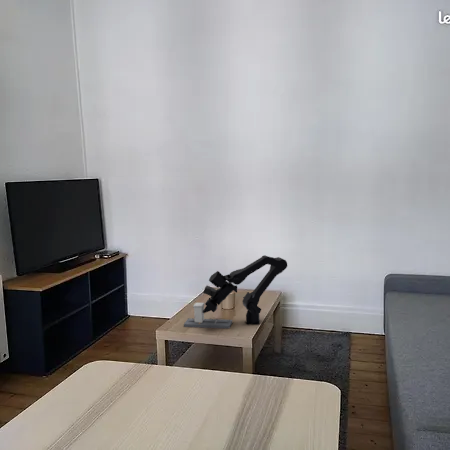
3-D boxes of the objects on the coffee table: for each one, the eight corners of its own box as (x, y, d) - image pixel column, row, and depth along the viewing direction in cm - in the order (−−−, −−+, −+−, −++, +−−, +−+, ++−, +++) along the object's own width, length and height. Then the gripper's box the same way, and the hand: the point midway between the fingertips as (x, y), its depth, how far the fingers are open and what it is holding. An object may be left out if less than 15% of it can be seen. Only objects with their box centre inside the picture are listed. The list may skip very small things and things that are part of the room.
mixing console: (232, 322, 243) (232, 319, 243) (229, 328, 234) (229, 325, 234) (188, 321, 247) (188, 318, 247) (183, 326, 239) (183, 323, 238)
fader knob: (204, 319, 244) (204, 302, 243) (202, 322, 238) (201, 305, 237) (196, 318, 245) (195, 302, 243) (193, 322, 239) (193, 305, 238)
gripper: (215, 276, 246) (196, 296, 250) (208, 285, 228) (187, 306, 231) (230, 291, 246) (211, 310, 249) (224, 301, 228) (203, 322, 231)
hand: (203, 312), depth 240 cm, fingers closed, pressing on fader knob
